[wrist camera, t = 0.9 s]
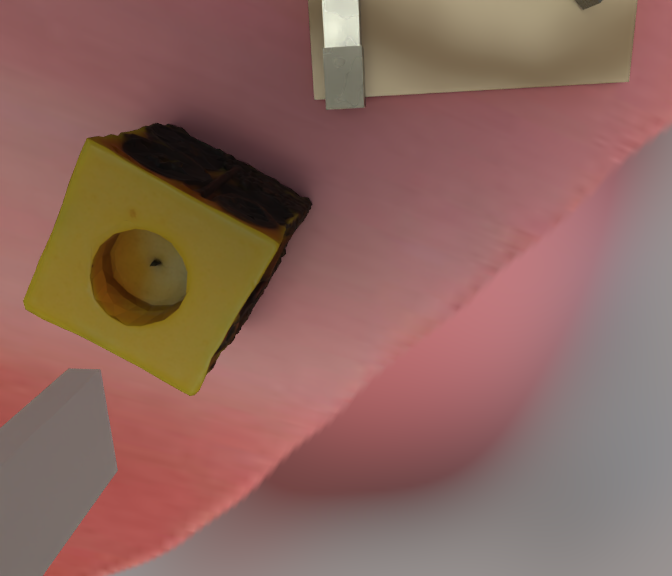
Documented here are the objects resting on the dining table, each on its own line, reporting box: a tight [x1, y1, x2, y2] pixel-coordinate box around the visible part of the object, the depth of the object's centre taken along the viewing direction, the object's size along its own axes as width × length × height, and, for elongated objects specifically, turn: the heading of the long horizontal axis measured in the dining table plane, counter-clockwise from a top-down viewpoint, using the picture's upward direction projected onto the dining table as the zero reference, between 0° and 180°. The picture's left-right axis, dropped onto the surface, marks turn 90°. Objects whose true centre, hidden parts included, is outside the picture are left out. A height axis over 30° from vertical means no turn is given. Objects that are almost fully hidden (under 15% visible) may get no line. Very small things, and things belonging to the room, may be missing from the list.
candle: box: [23, 123, 312, 396], centre depth 32 cm, size 10×10×10 cm
